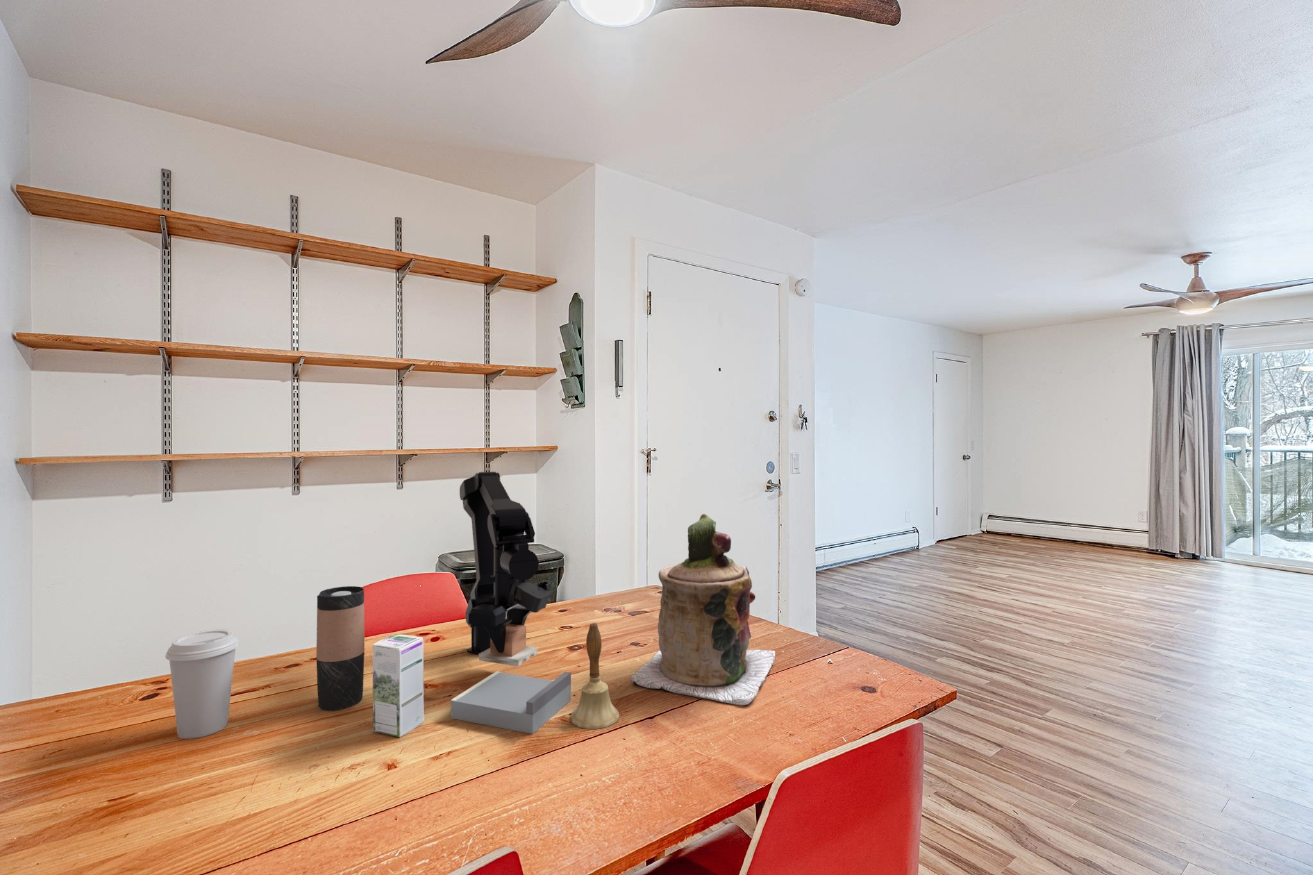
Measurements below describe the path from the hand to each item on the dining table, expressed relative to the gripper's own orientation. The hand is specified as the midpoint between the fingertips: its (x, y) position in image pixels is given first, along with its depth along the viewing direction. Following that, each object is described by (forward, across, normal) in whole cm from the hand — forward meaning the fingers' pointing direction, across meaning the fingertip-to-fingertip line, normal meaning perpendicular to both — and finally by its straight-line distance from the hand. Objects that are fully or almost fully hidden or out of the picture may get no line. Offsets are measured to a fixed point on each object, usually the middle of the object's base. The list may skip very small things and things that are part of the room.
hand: (508, 647), depth 116 cm
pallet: (+2, 0, 0) cm, 2 cm away
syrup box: (+6, -24, +5) cm, 25 cm away
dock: (+6, -12, -9) cm, 16 cm away
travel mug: (+6, -20, +22) cm, 30 cm away
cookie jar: (+6, +15, -37) cm, 40 cm away
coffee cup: (+6, -35, +35) cm, 50 cm away
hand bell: (+6, -10, -24) cm, 27 cm away
